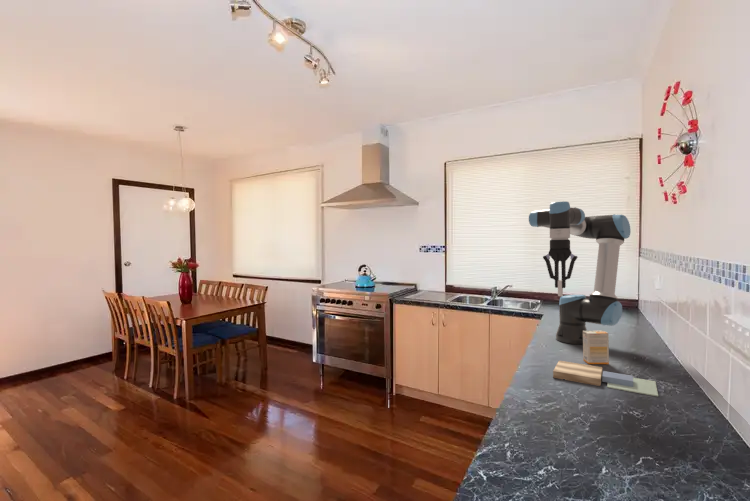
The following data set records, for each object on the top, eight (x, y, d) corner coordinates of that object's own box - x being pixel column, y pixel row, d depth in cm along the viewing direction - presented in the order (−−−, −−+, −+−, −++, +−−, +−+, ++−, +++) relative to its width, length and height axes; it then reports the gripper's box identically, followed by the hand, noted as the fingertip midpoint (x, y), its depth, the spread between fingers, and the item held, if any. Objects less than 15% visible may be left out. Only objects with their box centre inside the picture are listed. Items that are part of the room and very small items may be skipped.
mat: (608, 374, 136) (608, 373, 136) (655, 382, 128) (655, 381, 128) (607, 387, 125) (607, 386, 125) (658, 396, 116) (658, 395, 116)
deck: (558, 366, 146) (558, 360, 146) (602, 373, 137) (602, 367, 137) (553, 377, 134) (553, 371, 134) (600, 386, 126) (600, 379, 126)
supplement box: (603, 360, 151) (602, 330, 151) (609, 364, 147) (609, 333, 146) (582, 360, 152) (582, 330, 152) (588, 364, 147) (587, 332, 147)
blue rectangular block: (602, 381, 129) (602, 376, 129) (603, 376, 134) (603, 370, 133) (633, 386, 123) (633, 381, 123) (632, 381, 128) (632, 375, 128)
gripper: (541, 239, 149) (541, 295, 150) (576, 238, 142) (577, 298, 142) (544, 239, 155) (544, 293, 156) (578, 238, 148) (579, 295, 148)
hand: (560, 295), depth 149 cm, fingers closed
